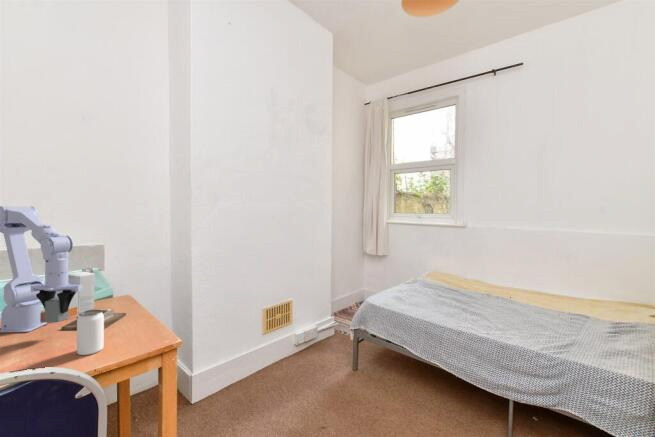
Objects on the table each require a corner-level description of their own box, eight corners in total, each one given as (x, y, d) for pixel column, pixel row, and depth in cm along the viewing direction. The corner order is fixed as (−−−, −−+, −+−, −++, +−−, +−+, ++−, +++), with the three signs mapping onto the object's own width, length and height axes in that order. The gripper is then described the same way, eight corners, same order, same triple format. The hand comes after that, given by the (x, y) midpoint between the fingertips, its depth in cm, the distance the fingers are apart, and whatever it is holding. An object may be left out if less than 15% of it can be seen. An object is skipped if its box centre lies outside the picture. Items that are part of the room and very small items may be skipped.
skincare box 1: (62, 320, 112) (62, 290, 112) (53, 319, 113) (53, 289, 112) (78, 315, 118) (78, 286, 118) (70, 314, 119) (70, 285, 118)
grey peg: (45, 322, 96) (45, 301, 96) (55, 317, 100) (55, 297, 100) (58, 322, 97) (58, 301, 96) (67, 317, 101) (67, 297, 100)
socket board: (61, 329, 104) (61, 320, 104) (89, 315, 118) (89, 306, 118) (103, 329, 106) (103, 319, 106) (125, 315, 120) (126, 306, 120)
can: (87, 345, 94) (87, 308, 93) (108, 345, 94) (108, 309, 94) (71, 356, 87) (71, 316, 87) (94, 355, 88) (94, 316, 87)
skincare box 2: (64, 310, 122) (64, 274, 122) (81, 305, 129) (81, 270, 128) (78, 313, 120) (78, 276, 119) (95, 308, 126) (95, 272, 126)
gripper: (21, 274, 93) (22, 316, 94) (71, 275, 95) (71, 316, 95) (41, 270, 100) (41, 309, 101) (86, 270, 102) (86, 309, 102)
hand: (56, 312), depth 98 cm, fingers closed on grey peg, 4 cm apart
